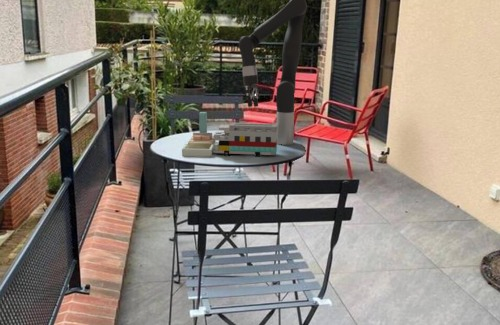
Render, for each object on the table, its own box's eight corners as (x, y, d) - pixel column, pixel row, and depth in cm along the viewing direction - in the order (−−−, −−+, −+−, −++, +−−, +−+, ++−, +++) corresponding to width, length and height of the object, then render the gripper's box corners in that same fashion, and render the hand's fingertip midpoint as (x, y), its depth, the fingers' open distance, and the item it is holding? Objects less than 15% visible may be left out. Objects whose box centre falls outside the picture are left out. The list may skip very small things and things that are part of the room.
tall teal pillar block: (194, 136, 262) (193, 111, 258) (213, 136, 261) (213, 112, 258) (193, 138, 257) (192, 113, 254) (212, 138, 257) (212, 113, 254)
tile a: (202, 138, 256) (202, 135, 255) (210, 139, 255) (210, 135, 255) (201, 140, 252) (201, 136, 251) (209, 140, 252) (209, 136, 251)
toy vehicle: (215, 151, 246) (215, 121, 242) (276, 153, 243) (277, 123, 240) (213, 155, 238) (212, 124, 235) (275, 157, 236) (276, 126, 232)
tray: (185, 150, 247) (185, 144, 246) (213, 151, 247) (213, 144, 246) (182, 155, 237) (181, 149, 236) (211, 156, 236) (211, 149, 235)
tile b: (194, 138, 256) (194, 134, 255) (201, 138, 256) (201, 135, 255) (193, 140, 252) (192, 136, 251) (200, 140, 252) (200, 136, 251)
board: (193, 142, 265) (193, 135, 264) (215, 143, 265) (215, 135, 264) (187, 150, 248) (187, 142, 247) (211, 150, 247) (211, 143, 246)
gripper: (251, 73, 249) (255, 105, 250) (261, 75, 262) (264, 105, 263) (238, 75, 252) (241, 107, 253) (248, 77, 265) (251, 107, 266)
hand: (253, 106), depth 258 cm, fingers open, 8 cm apart
